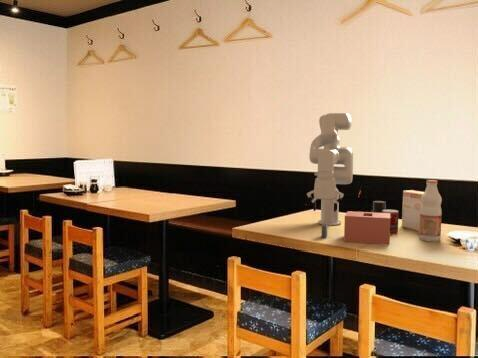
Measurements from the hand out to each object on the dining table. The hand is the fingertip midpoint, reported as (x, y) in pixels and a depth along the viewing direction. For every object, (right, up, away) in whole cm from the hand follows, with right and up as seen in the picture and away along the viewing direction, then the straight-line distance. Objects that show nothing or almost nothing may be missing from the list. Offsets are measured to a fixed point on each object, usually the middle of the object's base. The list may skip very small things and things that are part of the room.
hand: (324, 211), depth 231 cm
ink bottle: (+37, -9, +38) cm, 54 cm away
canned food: (+35, -12, +14) cm, 40 cm away
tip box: (+19, -13, -4) cm, 24 cm away
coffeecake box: (+52, -11, +23) cm, 58 cm away
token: (0, -13, +2) cm, 13 cm away
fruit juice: (+49, -13, -3) cm, 51 cm away
